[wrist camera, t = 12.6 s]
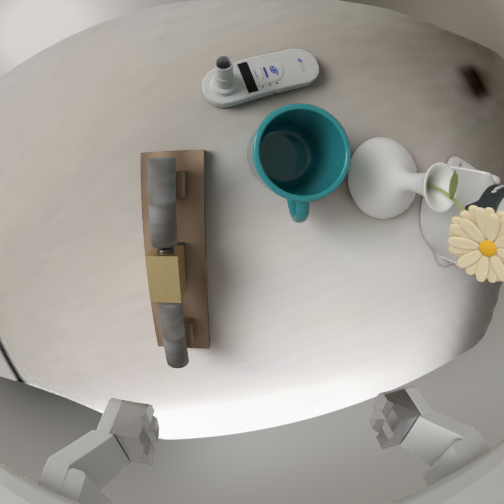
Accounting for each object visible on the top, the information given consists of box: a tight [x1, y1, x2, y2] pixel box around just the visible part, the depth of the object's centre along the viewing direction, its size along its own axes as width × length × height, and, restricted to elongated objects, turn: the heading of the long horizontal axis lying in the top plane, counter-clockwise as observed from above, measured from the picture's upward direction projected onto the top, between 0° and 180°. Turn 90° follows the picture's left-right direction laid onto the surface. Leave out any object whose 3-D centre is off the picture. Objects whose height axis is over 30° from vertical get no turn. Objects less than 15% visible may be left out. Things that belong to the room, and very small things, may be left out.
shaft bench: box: [141, 150, 210, 368], centre depth 33 cm, size 8×28×8 cm, turn 179°
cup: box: [248, 104, 351, 223], centre depth 29 cm, size 9×12×11 cm
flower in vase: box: [348, 137, 504, 283], centre depth 23 cm, size 13×11×25 cm
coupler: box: [145, 246, 187, 303], centre depth 31 cm, size 4×6×4 cm, turn 179°
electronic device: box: [202, 48, 319, 108], centre depth 26 cm, size 5×10×15 cm
